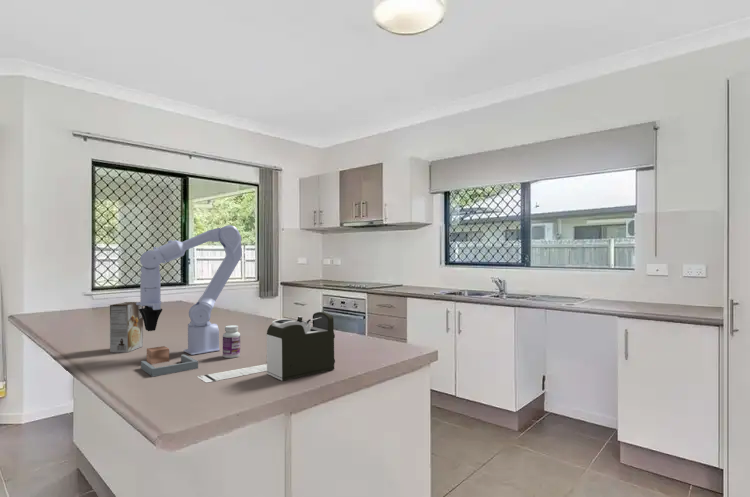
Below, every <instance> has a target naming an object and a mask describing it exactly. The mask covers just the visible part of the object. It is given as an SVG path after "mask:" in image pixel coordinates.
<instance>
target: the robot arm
mask: <svg viewBox="0 0 750 497" xmlns="http://www.w3.org/2000/svg"><path fill="white" fill-rule="evenodd" d="M208 242H210V243H211V242H213V243H218V242H219V244H221V246H222V247H223V250H224V254H225V257H224V258H223V260H222V262H221V263H220V265H219V267H218V268H217V270H216V272H215V273H214V275H213V277H212V279H211V280H210V281H209V283H208V285H207V287H206V289H204V292H203V293H202V294H201V296H200V297H199V299H198V300H197V302H196V303H195V304H193V305H192V306H191V307H190V308H189V310H188V317H189V320H190V321H189V323H188V324H187V348H186V349H185V348H184V349H183V352H185V353H187V354H189V355H191V356H192V355H199V354H200V355H201V354H206V353H212V352H217V351H220V350H221V349H220V330H219V326H218V324H217V323H212V322H211V321H210V319H211V316H212V310H213V309H214V306H215V304H216V302H217V299H218V298H219V296H220V295H221V293H222V290H223V289H224V288H225V286H226V283H227V282H228V281H229V279H230V277H231V276H232V274H233V272H234V271H235V268H236V267H237V265H238V264H239V261H240V260H241V259H242V256H243V254H242V250H243V249H242V235H241V234H240V231H239V230H238V228H237V227H236V226H234V225H232V224H229V225H228V224H227V225H225V226H223V227H222V226H221V227H216V228H214V229H209V230H207V231H204V232H202V233H200V234H197V235H195V236H193V237H191V238H188V239H186V240H184V241H179V240H176V239H175V240H172V239H170V240H168V241H167V243H165V244H162V245H159V246H158V247H156V246H153V247H152V249H148V250H146V251H144V252H143V253H141V256H140V259H139V261H140V264H141V268H140V272H141V273H140V274H139V275H140V276H139V277H140V281H139V282H140V284H139V285H140V296H139V297H140V298H139V299H140V301H135V302H136V305H141V306H143V308H142V309H139V311H140V313H141V315H142V317H143V326H144V329H145V330H146V331H147V332H153V331H154V332H155V331H156V329H157V326H158V325H157V324H158V320H159V319H160V318H159V317H160V315H161V313H162V312H163V308H162V307H161V305H162V301H161V295H162V294H161V291H162V290H161V287H162V286H161V284H162V283H161V280H162V279H161V278H162V277H161V275H162V274H161V272H160V265H161V264H167V263H170V262H172V261H174V260H177V259H179V258H181V257H184V256H185V253H186V251H187V250H190V249H193V248H194V247H198V246H201V245H203V244H206V243H208Z"/></svg>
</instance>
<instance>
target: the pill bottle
mask: <svg viewBox="0 0 750 497" xmlns="http://www.w3.org/2000/svg"><path fill="white" fill-rule="evenodd" d="M238 330H239V325H236V324H235V325H232V324H231V325H226V326H224V331H225V332H224V333H223V334H222V357H223V358H225V359H232V358H234V359H235V358H238V357H240V355H241V333H240V332H239V331H238Z"/></svg>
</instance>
